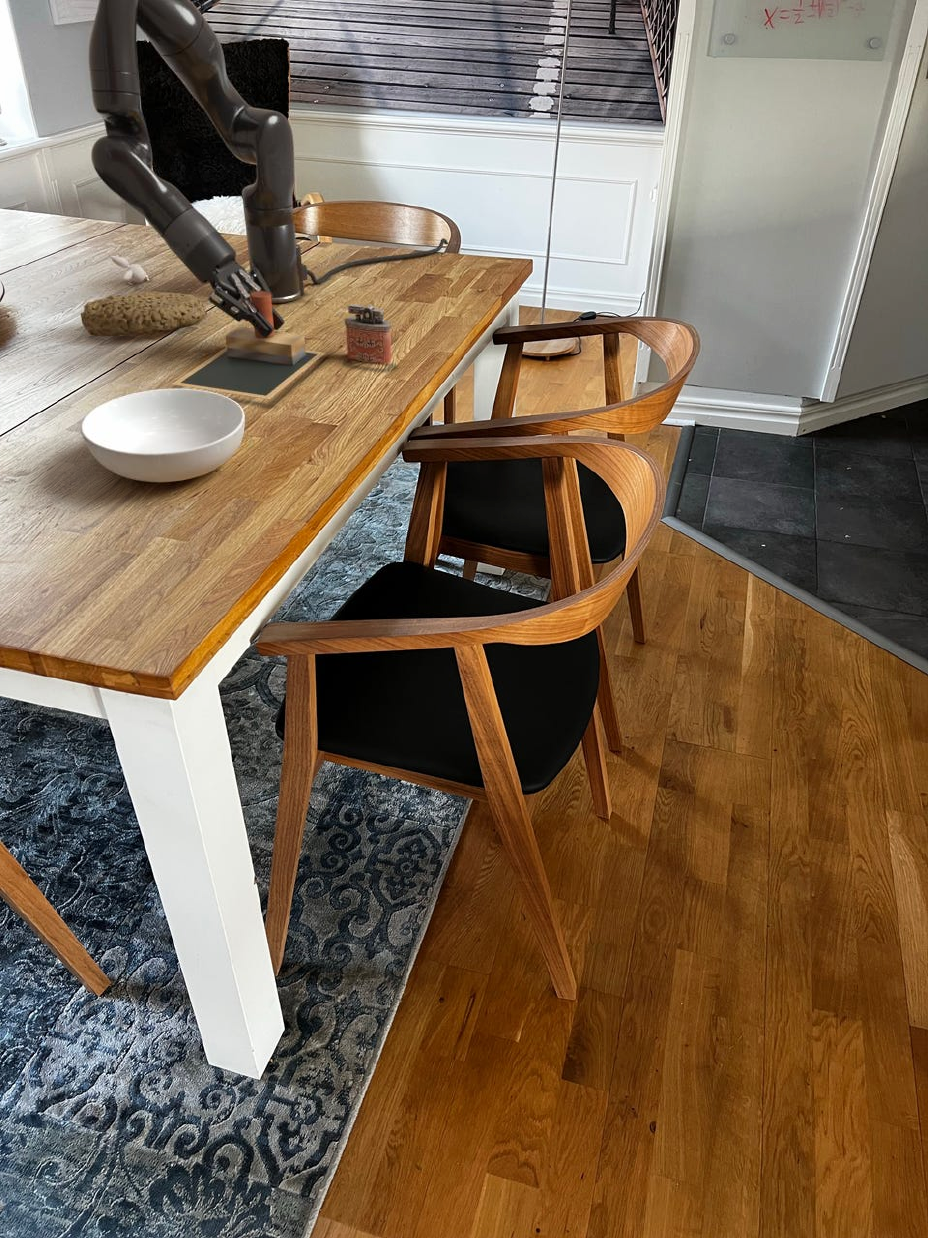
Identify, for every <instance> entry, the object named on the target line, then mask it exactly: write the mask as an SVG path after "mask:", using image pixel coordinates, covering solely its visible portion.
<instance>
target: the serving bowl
mask: <svg viewBox="0 0 928 1238" xmlns="http://www.w3.org/2000/svg"><path fill="white" fill-rule="evenodd" d="M243 409H244V408H242V406H241V405H240V404H239V403H237V402H236V401H235V400H234V399H232V398H230V397H228V396H225V395H223V394H220V393H217V392H214V391H210V390H204V389H197V388H159V389H150V390H142V391H138V392H133V393H128V394H125V395H122V396H121V395H120V396H118V397H116V398H113V399H110V400H107V401H105V402H103V403H101V404H99V405H98V406H96V407H94V408H93V409H92V410H90V412H88V413H87V414H86V415H85V416H84V418H82V421H81V423H80V433H81V435H82V438H83V440H84V444H85V445H86V447H87V449H88V450H89V452H90V453H91V455H92V456H93V458H94V459H95V460H96V461H97V462H98V463H99V464H101V466H103V467H104V468H106V469H107V470H109V471H111V472H112V473H114V474H116V475H119V476H121V477H123V478H127V479H130V480H135V481H140V482H149V483H170V482H178V481H179V482H180V481H184V480H190V479H194V478H197V477H201V476H204V475H206V474H209V473H210V472H212V471H215V470H217V469H218V468H221V466H222V465H224V464H225V463H227V462H228V461H229V460H230V459H231V458H232V457H233V456H234V455H235V453H236V452H237V450H238V449H239V447H240V445H241V443H242V441H243V437H244V434H245V422H246V415H245V411H244V410H243Z"/></svg>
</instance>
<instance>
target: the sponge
mask: <svg viewBox="0 0 928 1238" xmlns="http://www.w3.org/2000/svg"><path fill="white" fill-rule="evenodd" d="M83 307H84V310H83V312H81V313H80V319H81V323H82V326H83V327H84V329H85V330H86V331H87V333H88V334H89V336H93V337H121V336H123V337H124V336H127V337H128V336H146V335H148V336H153V335H158V334H165V333H170V332H174V331H177V330H179V329H180V328H184V327H188V326H192V325H194V324H197V323H198V322H199V321H201V320H203V319H204V318H206V317H207V315H208V313H207V309H206V308H207V307H206V303H205V301H203V300H201V299H199V298H197V296H195V295H192V294H188V293H179V292H166V291H165V292H164V291H142V292H136V293H135V292H134V293H130V294H127V295H122V296H115V295H109V296H107V297H105V298H101V299H96V300H93V301H88V302H86V304H85V305H84V306H83Z"/></svg>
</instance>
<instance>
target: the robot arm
mask: <svg viewBox="0 0 928 1238" xmlns="http://www.w3.org/2000/svg"><path fill="white" fill-rule="evenodd" d="M97 4H98V5H97V9H96V13H95V17H94V20H93V24H92V27H91V32H90V37H89V44H88V71H89V79H90V90H91V98H92V103H93V107H94V110H95V112H96V113H98V115H99V116H100V117H101V118H102V119H103V122H104V123H103V124H104V128H105V133H106V135H104V136H101V137H100V138H98V139H97V140H96V141H95V142H94V143H93V145H92V147H91V152H90V153H91V155H90V157H91V163H92V166H93V169H94V171H95V172H96V174H97V176H98V177H99V178H100V180H101V181H102V182H103V183H104V184H105V185H106V186H107V187H108V188H109V189H110V190H111V191H112V192H113V193H114V194H115V195H117V196H118V197H119V198H121V199H122V200H123V201H124V202H125V203H126V204H128V205H129V206H130V207H131V208H132V209H134V210H135V211H136V212H138V213H139V214H140V215H141V216H143V218H144V219H145V221H146V222H147V223H148V224H149V225H150V226H151V227H152V228H153V230H154V231H155V232H156V233H157V234H158V235H159V236H160V237H161V238H162V239H163V241H164V242H165V243H166V245H167V246H168V247H169V249H170V250H171V251H172V252H173V253H174V255H175V256H176V257H177V258H178V259H179V260H180V261H181V262H182V263H183V265H184V266H185V267H186V268H187V269H188V270H189V271H190V272H191V273H192V275H193V276H194V277H195V278H196V279H197V280H198V281H199V282H200V283H201V284H202V285H207V284H209V285H210V287H211V289H212V290H213V291H212V293H211V294H210V295H209V297H208V301H209V302H210V303H211V304H212V305H213V306H215V307H217V308H218V309H219V310H221V311H222V312H224V313H225V314H227V315H228V316H229V317H231V318H232V319H234V320H235V321H236V322H241V321H245V322H249V323H250V325H252V326H253V328H254V327H255V328H256V330H258V332H259V333H260V334H261V335H262V336H263V337H265V338H267V337H268V336H269V335H270V334H271V333H272V332H273V331H278V330H279V329H281V328H282V327H283V326H284V325H285V319H283V316H281V315H280V314H279V313H278V311H276V309H275V308H274V307H273V306H272V313H273V323H274V328H273V326H272V325H271V324H270V323H269V322H268V321H267V320H266V319H265V318H264V317H263V315H262V314H261V313H260V312H257V309H256V308H255V306H254V305H253V304H252V302H251V293H253V292H258V291H265V292H269V293H270V294H271V303H272V304H283V303H288V302H289V303H290V302H294V301H295V300H297V299H300V297H301V296H304V295H305V288H304V287H305V286H304V281H307V280H308V276H309V277H310V279H311V281H312V282H313V284H315V285H320V284H322V283H324V282H326V281H327V280H328V279H329V278H330V277H331V276H333V275H334V274H336V273H338V272H340V271H343V270H345V269H348V268H351V267H355V266H360V265H365V264H366V265H367V264H372V263H379V262H387V261H395V260H404V259H405V260H406V259H410V258H411V259H412V258H419V257H423V256H429V255H432V254H436V253H438V252H439V251H441V249H442V248H443V247H444V245H449V242H448V240H447V239H446V238H444V237H443V238H441V239H440V242H439V243H438V246H437V247H435V248H433V249H432V248H431V249H429V250H425V251H426V252H423V251H418V252H412V253H404V254H396V255H386V256H385V255H384V256H379V257H378V256H377V257H373V258H365V259H359V260H355V261H351V262H350V261H349V262H346V263H344V264H341V265H339V266H336V267H335V268H332V269H330V270H329V271H327V272H326V273H325V274H324V275H323V276H322V277H321V278H320V279H318V278H316V275H315V273H313V271H311V270H309V269H308V268H307V267H308V266H307V265H306V264H304V263H303V262H302V252H301V251H302V250H301V246H300V244H298V243H297V241H296V239H297V237H296V228H295V227H296V226H295V217H294V205H293V203H294V201H293V195H294V190H295V185H296V172H295V171H296V169H295V167H296V166H295V143H294V142H295V141H294V135H293V131H292V127H291V124H290V121H289V120H288V118H287V117H286V116H285V115H284V114H283V113H281V112H280V111H276V110H273V109H272V110H271V109H265V108H258V107H252V106H251V105H250V104H248V103H247V102H246V100H244V99H243V97H242V96H241V95H240V93H239V92H238V90H236V88H235V87H234V85H233V84H232V83H231V81H230V79H229V77H228V74H227V69H226V68H227V67H226V61H225V55H224V50H223V48H222V44H221V42H220V40H219V38H218V36H217V34H216V32H215V31H214V29H213V28H212V26H210V24H209V23H208V21H207V20H206V18H205V17H204V16H203V14H202V13H201V11H200V10H199V9H198V7H197V6H196V5H195V4H194V2H193V1H191V0H99V1H98V3H97ZM137 27H138V28H140V30H141V31H142V33H143V34H144V35H145V36H146V38H147V39H148V41H149V42H150V43H151V45H152V46H153V47H154V49H155V50H156V51H157V53H158V54H159V55H160V57H161V58H162V59H163V60H164V61H165V63H166V64H167V65H168V67H169V68H170V69H171V70H172V71H173V73H174V74H175V75H176V76H177V78H178V79H180V81H181V82H182V84H183V85H184V86H185V88H186V89H187V90H188V91H189V93H190V94H191V95H192V97H193V98H194V99H195V100H196V102H198V104H199V106H200V107H201V108H202V109H203V111H204V113H205V114H206V115H207V117H208V118H209V120H210V121H211V123H212V125H213V126H214V127H215V129H216V131H217V132H218V134H219V136H220V137H221V139H222V140H223V142H224V143H225V145H226V147H227V148H228V149H229V151H230V152H231V154H232V155H233V156H235V157H236V158H237V159H238V160H240V161H242V162H244V163H247V164H250V165H251V164H252V165H256V180H255V182H254V183H252V184H249V185H246V186H245V187H243V189H242V191H241V197H242V205H243V215H244V223H245V224H244V226H245V233H246V243H247V252H248V260H249V261H248V262H249V270H248V269H246V268H245V267H244V266H242V265H241V264H240V263H238V262H237V260H236V256H237V252H236V250H235V249H234V248H233V246H231V244H230V243H229V242H228V241H227V240H226V239H225V238H224V237H223V235H222V234H221V233H220V232H219V231H218V230H217V229H216V228H215V227H214V226H213V224H212V223H211V222H210V221H209V220H208V218H206V216H204V215H203V214H202V213H200V211H198V210H197V209H196V208H195V207H194V206H193V205H192V203H191V202H190V201H189V200H188V198H186V196H184V194H183V193H182V192H181V191H180V190H179V189H178V188H177V187H176V186H174V185H173V183H171V182H169V181H167V180H165V179H163V178H161V177H160V176H158V175H157V173H156V172H154V170H153V169H152V168H153V152H152V151H153V150H152V145H151V141H150V137H149V132H148V127H147V124H146V121H145V117H144V114H143V110H142V100H141V86H140V76H139V73H140V72H139V64H138V63H139V62H138V48H137V47H138V46H137V45H138V43H137ZM236 311H237V312H236ZM256 312H257V313H256Z"/></svg>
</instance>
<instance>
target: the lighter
mask: <svg viewBox="0 0 928 1238" xmlns="http://www.w3.org/2000/svg"><path fill="white" fill-rule="evenodd" d="M347 313H348V314H351V315H355V316H348V317H346V318H344V325H345V331H346V332H345V333H346V349H347V358H348V359H350V360H354V361H359V362H363V363H371V364H384V365H387V364H391V362H392V346H391V345H392V343H391V330H392V322H390V321H387V320H384V317H385V310H384V309H382V308H376V306H375V305H373V304H369V305H367V306H364V305H359V304H354V303H351V304H349V305H348V306H347ZM392 369H393V364H391V365H390V366H389V367H388V368H386V370H385V371H386V372H387V371H390V370H392Z"/></svg>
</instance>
